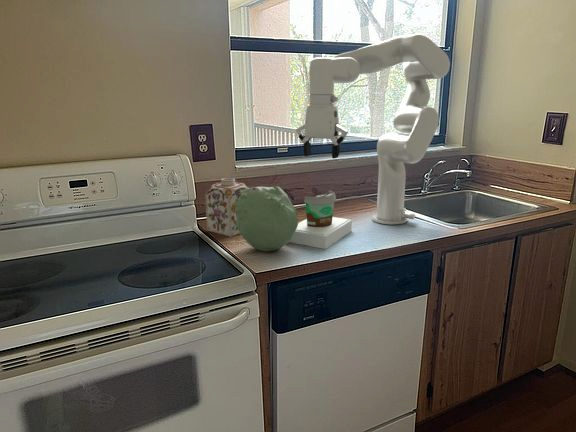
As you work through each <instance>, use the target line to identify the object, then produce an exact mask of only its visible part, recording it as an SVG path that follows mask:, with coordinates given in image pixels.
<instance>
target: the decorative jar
mask: <svg viewBox="0 0 576 432" xmlns="http://www.w3.org/2000/svg"><path fill="white" fill-rule="evenodd" d="M246 188H249V187H248V186H247V185H246V184H245V183H243V182H238V181H236V179H235V178H234V177H233V178H231V177H226V178H221V179H220V182H217V183H214V184H212V185H211V186H210V187H209V188H208V190H207V191H206V192H205V194H204V195H205V215H206V219H205V220H206V229H207V231H208V232H211V233H215V234H219V235H222V236H226V237H230V238H232V237H234V236H237V235H239V234H240V232H239V230H238V228H237V218H236V212H235V207H236V206H235V205H234V204H235V203H238V200H236V199H239V198H240V197H239V196H240V195H242V194H241V193H242V192H243V190H244V189H246ZM240 235H241V234H240Z"/></svg>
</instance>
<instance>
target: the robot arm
mask: <svg viewBox="0 0 576 432" xmlns="http://www.w3.org/2000/svg"><path fill="white" fill-rule="evenodd" d="M400 64H403V68H402V70H403V75H404V78H405V81H406V82H405V83H406V91H405V94H404V97H403V98H402V101H401V103H400V105H399V107H398V109H397V111H396V113H395V116H394V117H393V118H394V119H393V121H392V123H393V124H392V125H393V127H394V129H395V130H396V131H398V132H388V133H385V134H383V135H381V136H380V137H379V139H378V141H377V144H376V153H377V159H378V161H377V162H378V175H377V176H378V179H377V181H378V183H377V197H376V198H377V200H376V213H374V214H372V215H371V219H372V221H374V222H375V223H378V224H383V225H391V226H392V225H394V226H395V225H402V224H405V223H407V222H408V220H415V219H416V214H415V213H414V212H410V211H409V212H408V211H407V208H406V207H405V191H406V177H407V176H406V175H407V174H406V167H405V163H406V164H417V163H418V162H420V161H421V160H422V159H423V158H424V157H425V154H426V153H427V151H428V148H429V147H430V144H431V142H432V141H433V138H434V136H435V134H436V132H437V130H438V127H439V113H438V111H437V110H436V109H435V108H434V107H432V106H428V104H429V101H430V99H431V91H430V88H429V85H428V83H427V80H438V79H439V80H440V79H443V78H444V77H445V76H447V75H448V73H449V72H450V67H451V61H450V58H449V56H448V54H447V53H446V52H445V51H444V50H443V49H442V48H441V47H440V46H438V45H437V44H436V43H435V42H434V41H432V40H431V38H430V37H427V36H426V35H425V34H422V33H412V34H405V35H398V36H395V37H392V38H389V39H386V40H383V41H380V42H377V43H374V44H371V45H367V46H364V47H360V48H358V49H355V50H351V51H347V52H343V53H339V54H337V55H334V56H332V57H314V58H312V59H310V61H309V65H308V66H309V68H308V71H309V72H308V73H309V74H308V75H309V76H308V77H309V79H308V80H309V81H308V83H309V85H308V86H309V87H308V89H309V91H308V92H309V94H308V96H309V97H308V99H309V100H308V103H309V104H308V105H306V106H307V107H306V111H305V118H304V119H305V120H304V124H303V125H301V126H300V127H297V128H296V129H295V130H296V133H297V135H298V138H299V139H300V141H301V143H302V144H303V154H304V157H309V156H311V155H312V147H311V146H312V144H311V140H312V139H322V140H326V139H327V140H329V139H330V140H331V142H332V146H331V148H332V149H331V158H332V159H337V158H339V155H340V145H341V144H342V143H343V142H344V140H346V137H347V136H348V134H349V131H348V130H347V129H346V128H344V127H342V126H341V125H340V122H339V120H340V118H339V111H338V107H337V105H336V104H335V102H338V101H339V98H338V96H336V94H335V84H349V83H352V82H355V81H356V80H357V79H358V78H359V77H360V75H367V74H375V73H378V72H382V71H384V70H386V69H389V68H392V67H395V66H398V65H400ZM303 131H304V133H303ZM399 132H400V133H399ZM340 133H341V134H340ZM339 135H340V136H339Z"/></svg>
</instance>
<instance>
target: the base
mask: <svg viewBox="0 0 576 432" xmlns="http://www.w3.org/2000/svg"><path fill="white" fill-rule="evenodd" d="M352 222H353V220H352V219H348V218H342V217H336V216H335V217H334V216H333V217H332V224H331V225H330V226H327V227H310V226H307V218H306V219H305V218H304V220H302V221H300V222H298V226H297V229H296V230H295V232H294V233H293V235H292V237H291V239H290V240H289V241H288V242H287V243H291V244H292V243H293V244H296V245H297V244H298V245H302V246H307V247H314V248H319V249H323V250H324V249H325V250H326V249H328V248H329V247H331V246H332V245H334V244H335V243H336V242H338V241H339V240H341V239H342V238H344V237H345V236H347V235H348V234H350V233H351V232H352V228H353V227H352Z"/></svg>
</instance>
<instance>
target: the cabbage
mask: <svg viewBox="0 0 576 432" xmlns="http://www.w3.org/2000/svg"><path fill="white" fill-rule="evenodd" d="M241 194H242V195H240V196H239V197H240V198H239V199H236V200H238V203H235V204H234V205H235V206H236V207H235V212H236V218H237V228H238V230H239V232H240V235H241V237H242V238H243V239H244V241H245V242H246V243H247V244H248V245H249V246H251V247H252V248H253V249H255V250H258V251H262V252H271V251H277V250H279V249H281V248H283V247H284V246H285V245H287V244H288V243H289V242H288V241H289V240H290V239H291V237H292V235H293V233H294V232H295V230H296V229H297V226H298V223H299V218H298V211H297V209H296V208H295V207H294V205H293V204H292V202H291V200H290V198H289V195H288V194H287V193H286V192H285V191H284V190H283V189H282V188H281V187H280V186H277V185H275V186H270V187H269V186H252V187H248V188H246V189H244V190H243V192H242V193H241Z"/></svg>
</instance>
